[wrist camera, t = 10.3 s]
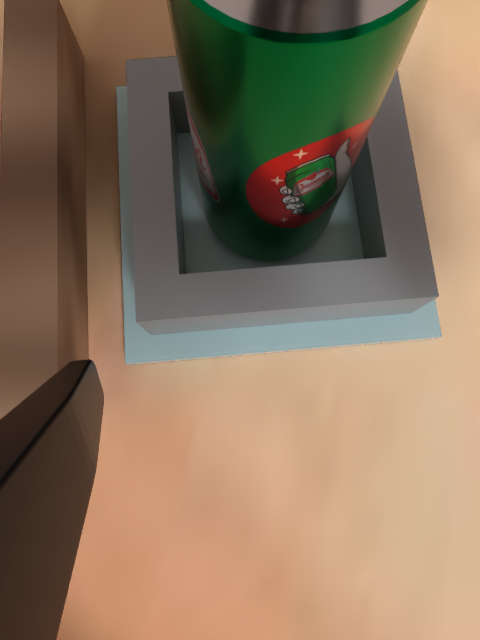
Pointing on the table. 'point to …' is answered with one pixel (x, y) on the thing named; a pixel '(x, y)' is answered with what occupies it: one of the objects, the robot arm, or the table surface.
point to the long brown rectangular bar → (41, 200)
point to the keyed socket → (257, 275)
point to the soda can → (283, 108)
